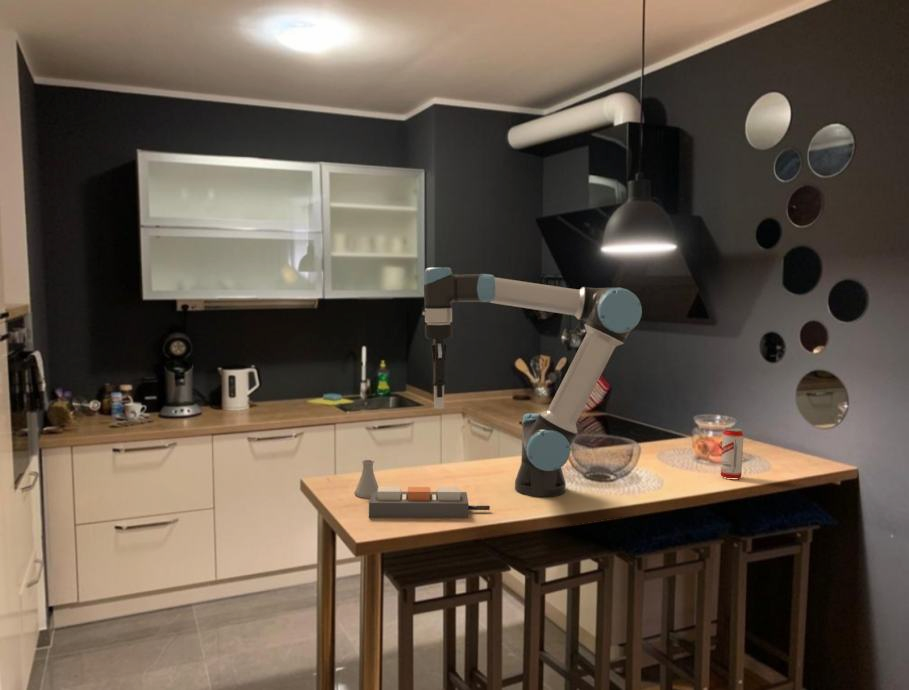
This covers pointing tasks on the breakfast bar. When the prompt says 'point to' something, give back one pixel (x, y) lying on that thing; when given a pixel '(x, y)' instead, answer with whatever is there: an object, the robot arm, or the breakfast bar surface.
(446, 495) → the switch
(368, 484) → the flask
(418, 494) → the switch
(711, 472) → the breakfast bar surface
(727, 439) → the beer can
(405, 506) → the power strip
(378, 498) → the switch
